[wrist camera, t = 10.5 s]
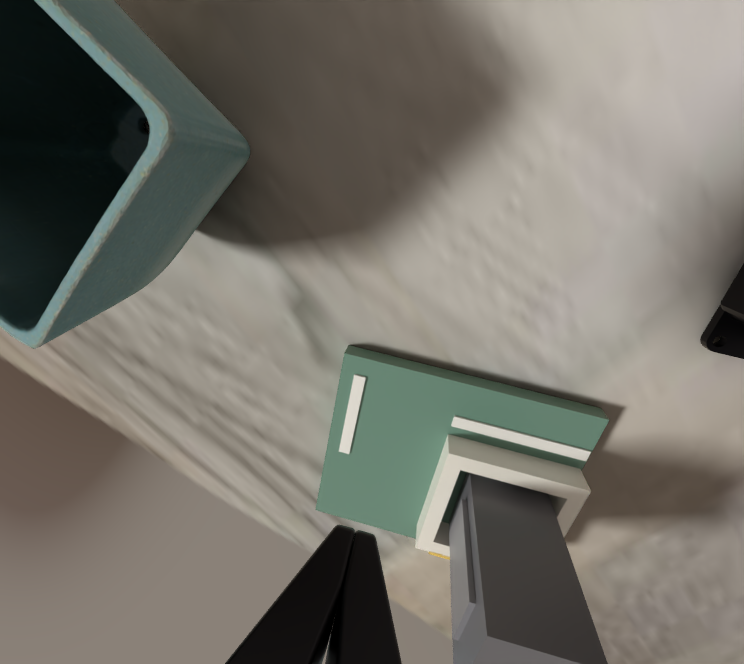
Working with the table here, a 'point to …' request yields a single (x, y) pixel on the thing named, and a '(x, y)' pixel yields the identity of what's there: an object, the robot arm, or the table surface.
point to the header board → (445, 445)
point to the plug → (514, 581)
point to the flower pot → (96, 162)
